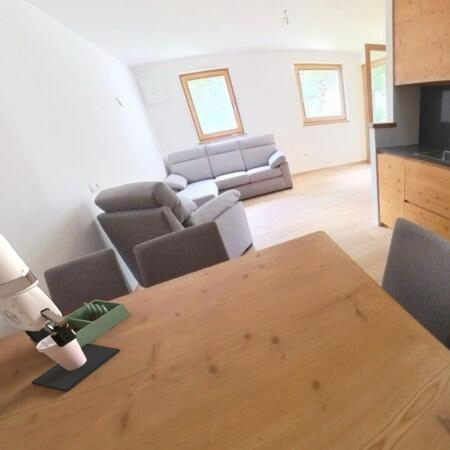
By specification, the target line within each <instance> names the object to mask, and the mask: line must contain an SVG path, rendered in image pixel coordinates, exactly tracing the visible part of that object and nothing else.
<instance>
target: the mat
mask: <svg viewBox="0 0 450 450" xmlns="http://www.w3.org/2000/svg"><path fill="white" fill-rule="evenodd" d="M81 350H82V352H83V354H84V355H85V357H86V359H87V360H86V362H85V363H84V364H83V365H82V366H80V367H79V368H77V369H75V370H71V371H68V370H66V369H65V368H64V367H62V366H61V365H60V364H58V363H56V364H55V365H53V366H51V367H50V368H49V369H47V370H46V371H45V372H43V373H41V374H40V375H39V376H37V377H36V378H34V379H33V380H32V381H31V383H32V384H33V385H36V386H41V387H45V388H49V389H54V390H59V391H62V392H67V393H68V392H69V391H71V390H72V389H73V388H75V386H77V385H79V384H80V383H81V382H82V381H84V380H85V379H86V378H87V377H89V376H90V375H91V374H92V373H94V372H95V371H96V370H97V369H99V368H100V367H101V366H103V365H104V364H106V362H108V361H109V360H110V359H112V358H113V357H114V356H115V355H117V354H118V353H120V352H121V349H119V348H117V347H111V346H110V347H109V346H104V345H99V344H93V343H87V344H85V345H84V346H82V347H81Z"/></svg>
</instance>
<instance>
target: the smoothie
mask: <svg viewBox="0 0 450 450" xmlns="http://www.w3.org/2000/svg"><path fill="white" fill-rule="evenodd" d="M49 327H51V325H50V326H49ZM51 328H52V327H51ZM52 329H53V328H52ZM72 331H73V333H74V334H75V333H76V332H75V331H74V330H72ZM51 335H52V334H51ZM51 335H49V336H48V337H46V338H44V339H43V340H42V341H40V342H39V343H38V345H37V346H35V348H36V350H37V351H38V352H39V353H44V355H46V356H47V357H48V358H50V359H51V360H53V361H54V362H56V364H60V365H61V366H62V367H64V368H65V369H66V370H68V371H71V370H75V369H77V368H79V367H80V366H82V365H83V364H84V363H85V362H86V360H87V359H86V357H85V355H84V354H83V352H82V350H81V348H80V346H79V344H78V342H77V340H76V339H74V340H73V341H71V342H70V343H68V344H67V345H65V346H63V347H59V346H58V345H57V344H56V343H55V341H54V340H53V339H52V338H51V337H50V336H51Z"/></svg>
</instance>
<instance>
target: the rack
mask: <svg viewBox="0 0 450 450" xmlns="http://www.w3.org/2000/svg"><path fill="white" fill-rule="evenodd" d="M82 305H83V306H81V307H80V308H77V309H76V310H75V311H73V312H71V313H69V314H68V315H66V316H65V317H63V318H64V319H65V321H66V323H67V325H68V326H69V328H70V329H71V330H73V331H74V330H76V329H79V330H78V331H76V332H75V335H76V340H77V342H78V344H79V346H80V348H81V347H82V346H84V345H85V344H87V343H89V344H92V342H94V341H95V340H96V339H98V338H99V337H101V336H102V335H103V334H105V333H107V332H108V331H110V330H111V329H113V328H114V327H115V326H117V325H118V324H120V323H121V322H123V321H124V320H125V319H127V318H128V317H130V316H131V313H130V312H129V311H128V309H127V307H126V306H125V304H124V303H123V302H116V301H109V300H100V299H94V300H91V301H90V302H83V304H82ZM92 319H94V320H93V321H92ZM50 326H51V327H52V328H54V326H55V324H54V323H53V324H51V325H50ZM28 339H29V341H31V342H32V344H33V345H34V346H35V347H36V346H37V345H38V343H39V342H40V341H39V342H37V343H36V342H34V341H33V340H32V339H31V338H30V337H28ZM41 341H42V340H41Z"/></svg>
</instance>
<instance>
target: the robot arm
mask: <svg viewBox="0 0 450 450" xmlns="http://www.w3.org/2000/svg"><path fill="white" fill-rule="evenodd" d="M37 284H39V280H38V278H37V277H36V276H35V275H34V273H33V271H31V270H30V268H29V267H28V266H27V264H26V263H25V262H24V260H23V259H22V258H21V257H20V256H19V254H18V253H17V251H15V249H14V248H13V247H12V246H11V244H10V243H9V241H8V240H7V239H6V238H5V236H4V235H3V234H1V233H0V316H1V317H2V319H4V321H5V322H6V324H8V326H10V327H11V328H13V329H18V330H23V331H24V332H25V334H26V335H27V336H28V338H31V339H32V340H33V341H34V342H36V343H37V342H39V341H41V340H43V339H44V338H46V337H48V336H49V335H51V334H52V335H51V336H50V337H51V338H52V339H53V340H54V341H55V343H56V344H57V345H58V346H59V347H63V346H65V345H67V344H68V343H70V342H71V341H73V340H74V339H76V335H75V334H74V333H73V332H74V330H73V331H72V330H71V329H70V328H69V326H68V325H67V323H66V321H65V319H64V317H63V315H62V312H61V311H60V310H59V308H58V307H57V305H56V304H55V303H54V302H53V301H52V300H51V299H50V298H49V297H48V295H47V294H46V293H45V292H44V291H43V290H42V289H41V288H39V287H38V285H37ZM48 321H49V322H48ZM46 322H47V323H46ZM52 324H55V326H54V328H53V329H52V328H51V327H49V326H51V325H52Z"/></svg>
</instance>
